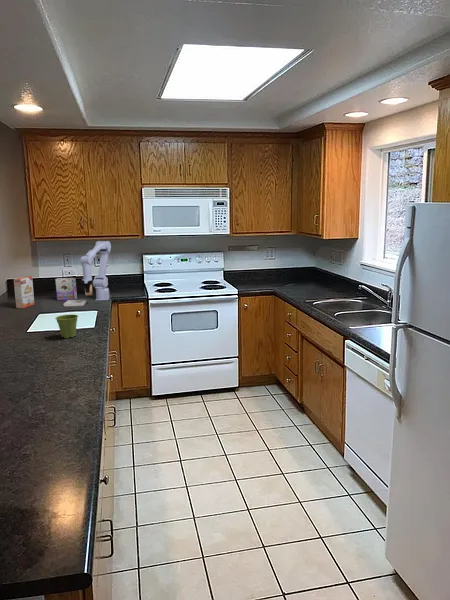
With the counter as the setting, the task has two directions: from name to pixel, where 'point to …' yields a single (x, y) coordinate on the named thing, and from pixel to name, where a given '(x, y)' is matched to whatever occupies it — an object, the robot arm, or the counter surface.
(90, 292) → the peach small lump
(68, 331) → the plant pot
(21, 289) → the cracker box
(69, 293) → the candy box
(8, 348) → the counter surface
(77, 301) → the tray
